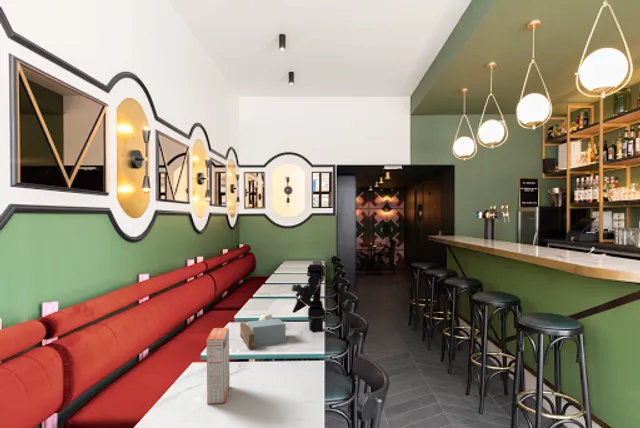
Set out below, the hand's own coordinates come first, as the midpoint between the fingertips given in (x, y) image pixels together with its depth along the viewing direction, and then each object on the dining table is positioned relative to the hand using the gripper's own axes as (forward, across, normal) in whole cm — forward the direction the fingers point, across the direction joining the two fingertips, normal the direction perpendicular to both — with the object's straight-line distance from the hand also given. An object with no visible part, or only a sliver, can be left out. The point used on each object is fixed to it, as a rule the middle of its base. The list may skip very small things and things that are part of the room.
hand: (293, 312), depth 203 cm
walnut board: (+24, +4, -10) cm, 27 cm away
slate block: (+19, +3, -3) cm, 19 cm away
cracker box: (+33, +62, -15) cm, 72 cm away
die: (+17, -17, -3) cm, 24 cm away
